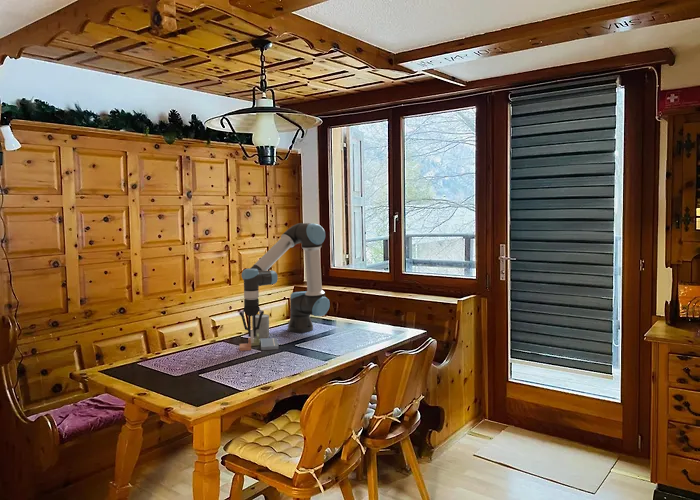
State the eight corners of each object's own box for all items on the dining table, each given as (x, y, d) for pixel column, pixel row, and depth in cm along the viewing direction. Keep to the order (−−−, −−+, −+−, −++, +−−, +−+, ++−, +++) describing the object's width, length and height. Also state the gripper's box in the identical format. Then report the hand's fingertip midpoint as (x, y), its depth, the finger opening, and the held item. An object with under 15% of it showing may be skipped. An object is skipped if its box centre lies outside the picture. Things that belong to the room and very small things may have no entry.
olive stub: (259, 341, 298) (259, 333, 298) (259, 345, 290) (259, 336, 290) (248, 342, 297) (248, 333, 297) (248, 345, 289) (248, 337, 289)
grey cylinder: (271, 335, 313) (270, 314, 312) (266, 339, 303) (266, 317, 302) (254, 334, 314) (254, 314, 313) (250, 339, 304) (249, 317, 303)
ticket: (276, 340, 300) (276, 337, 300) (278, 349, 283) (278, 345, 283) (260, 341, 299) (260, 338, 299) (261, 350, 281) (261, 346, 281)
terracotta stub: (251, 346, 288) (251, 337, 288) (251, 350, 281) (251, 341, 280) (239, 346, 287) (239, 337, 287) (239, 350, 280) (239, 341, 279)
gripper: (263, 296, 287) (264, 340, 289) (238, 297, 285) (239, 341, 287) (264, 299, 280) (264, 343, 282) (238, 300, 277) (239, 345, 279)
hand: (252, 342), depth 284 cm, fingers closed
